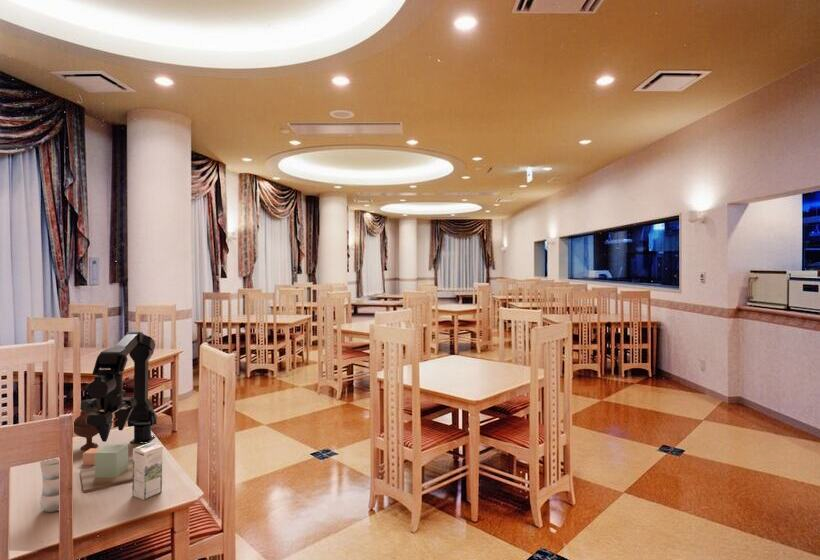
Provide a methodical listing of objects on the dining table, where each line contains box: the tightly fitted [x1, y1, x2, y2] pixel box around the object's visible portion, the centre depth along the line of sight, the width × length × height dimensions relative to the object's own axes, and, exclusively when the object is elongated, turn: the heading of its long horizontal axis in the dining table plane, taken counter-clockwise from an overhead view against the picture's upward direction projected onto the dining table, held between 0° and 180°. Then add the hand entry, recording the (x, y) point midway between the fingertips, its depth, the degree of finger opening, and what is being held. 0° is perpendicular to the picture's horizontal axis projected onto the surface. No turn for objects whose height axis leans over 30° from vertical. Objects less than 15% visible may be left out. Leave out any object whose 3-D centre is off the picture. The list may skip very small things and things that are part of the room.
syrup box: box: [131, 441, 164, 501], centre depth 138 cm, size 6×6×14 cm
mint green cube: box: [94, 444, 129, 478], centre depth 149 cm, size 7×7×8 cm
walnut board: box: [79, 458, 133, 493], centre depth 149 cm, size 16×16×1 cm
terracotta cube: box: [82, 447, 101, 466], centre depth 158 cm, size 4×4×4 cm
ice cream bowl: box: [73, 409, 101, 452], centre depth 169 cm, size 11×11×15 cm
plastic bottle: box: [39, 459, 59, 513], centre depth 128 cm, size 6×7×20 cm
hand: (112, 435), depth 152 cm, fingers open, 9 cm apart
